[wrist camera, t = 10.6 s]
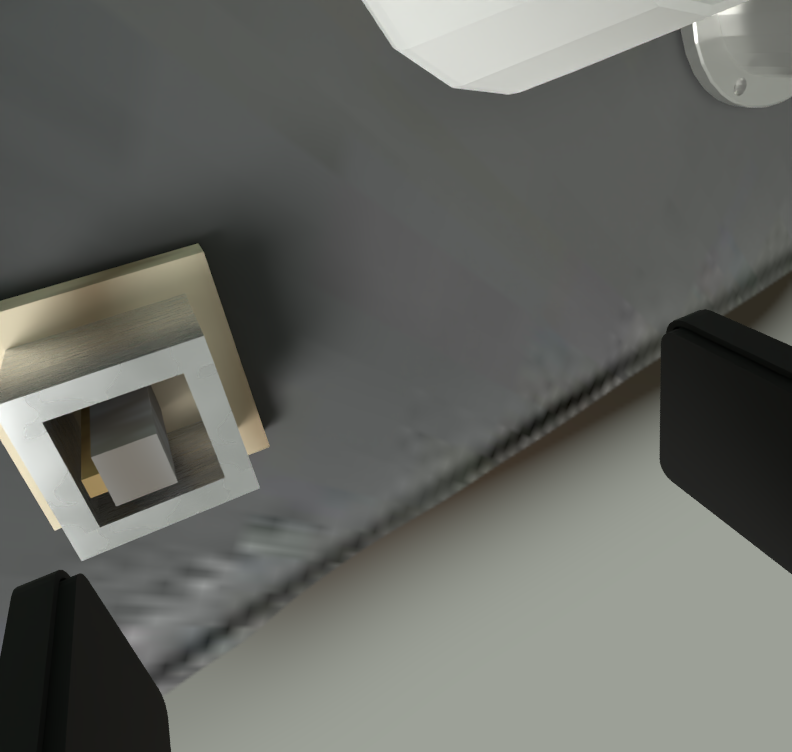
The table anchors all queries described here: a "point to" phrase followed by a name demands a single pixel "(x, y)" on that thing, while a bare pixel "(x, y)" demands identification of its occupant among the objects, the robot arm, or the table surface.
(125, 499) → the post block
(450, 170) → the table surface
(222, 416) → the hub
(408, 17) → the cup
